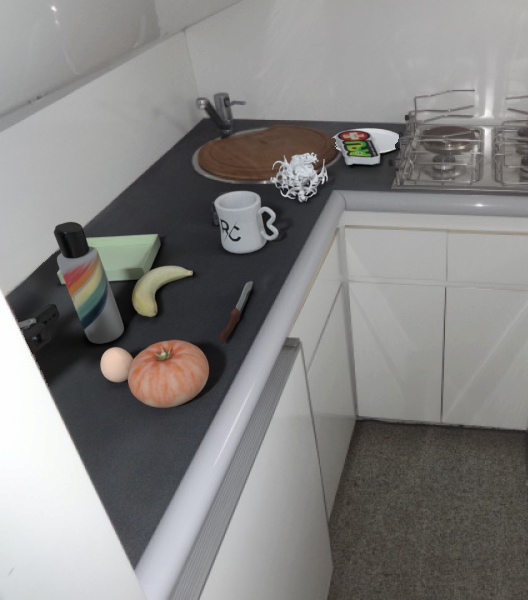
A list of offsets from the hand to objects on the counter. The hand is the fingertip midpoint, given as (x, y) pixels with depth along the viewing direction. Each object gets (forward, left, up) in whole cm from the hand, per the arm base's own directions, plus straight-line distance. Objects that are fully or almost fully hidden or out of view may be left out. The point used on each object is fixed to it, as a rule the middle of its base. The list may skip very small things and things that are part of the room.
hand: (29, 304), depth 80 cm
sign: (+55, +83, -10) cm, 100 cm away
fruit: (+11, +20, -13) cm, 26 cm away
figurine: (+34, +62, -2) cm, 71 cm away
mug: (+25, +37, -13) cm, 47 cm away
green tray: (-1, +33, -13) cm, 35 cm away
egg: (+9, -2, -13) cm, 16 cm away
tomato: (+18, -6, -13) cm, 23 cm away
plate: (+53, +91, -13) cm, 106 cm away
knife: (+25, +12, -13) cm, 31 cm away
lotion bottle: (+4, +10, -13) cm, 17 cm away
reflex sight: (+18, +52, -13) cm, 57 cm away
